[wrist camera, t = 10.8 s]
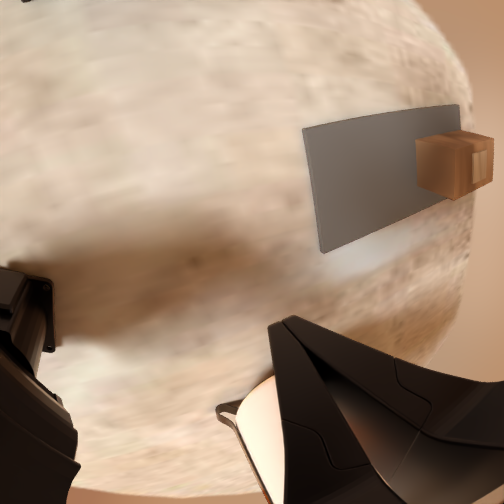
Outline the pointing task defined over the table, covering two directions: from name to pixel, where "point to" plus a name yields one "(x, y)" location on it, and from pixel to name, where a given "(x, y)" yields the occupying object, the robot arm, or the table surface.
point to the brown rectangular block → (454, 163)
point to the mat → (370, 170)
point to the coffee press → (261, 437)
